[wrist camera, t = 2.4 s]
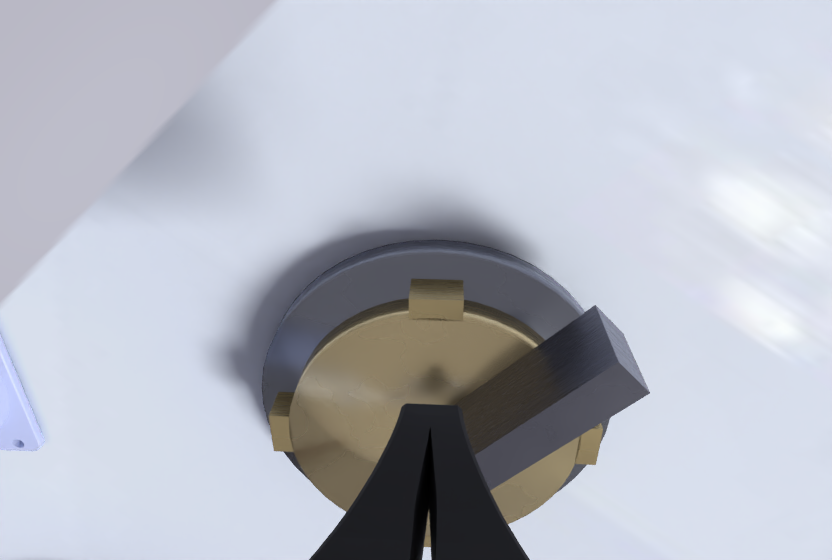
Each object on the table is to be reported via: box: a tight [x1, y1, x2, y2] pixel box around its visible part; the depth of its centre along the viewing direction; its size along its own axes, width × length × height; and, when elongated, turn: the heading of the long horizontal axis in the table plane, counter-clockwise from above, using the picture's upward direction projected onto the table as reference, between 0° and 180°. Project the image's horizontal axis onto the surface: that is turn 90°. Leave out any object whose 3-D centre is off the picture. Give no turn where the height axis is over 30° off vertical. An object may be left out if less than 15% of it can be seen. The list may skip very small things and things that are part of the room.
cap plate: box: [262, 240, 610, 492], centre depth 24 cm, size 14×14×1 cm
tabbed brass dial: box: [269, 279, 650, 547], centre depth 21 cm, size 12×12×4 cm
